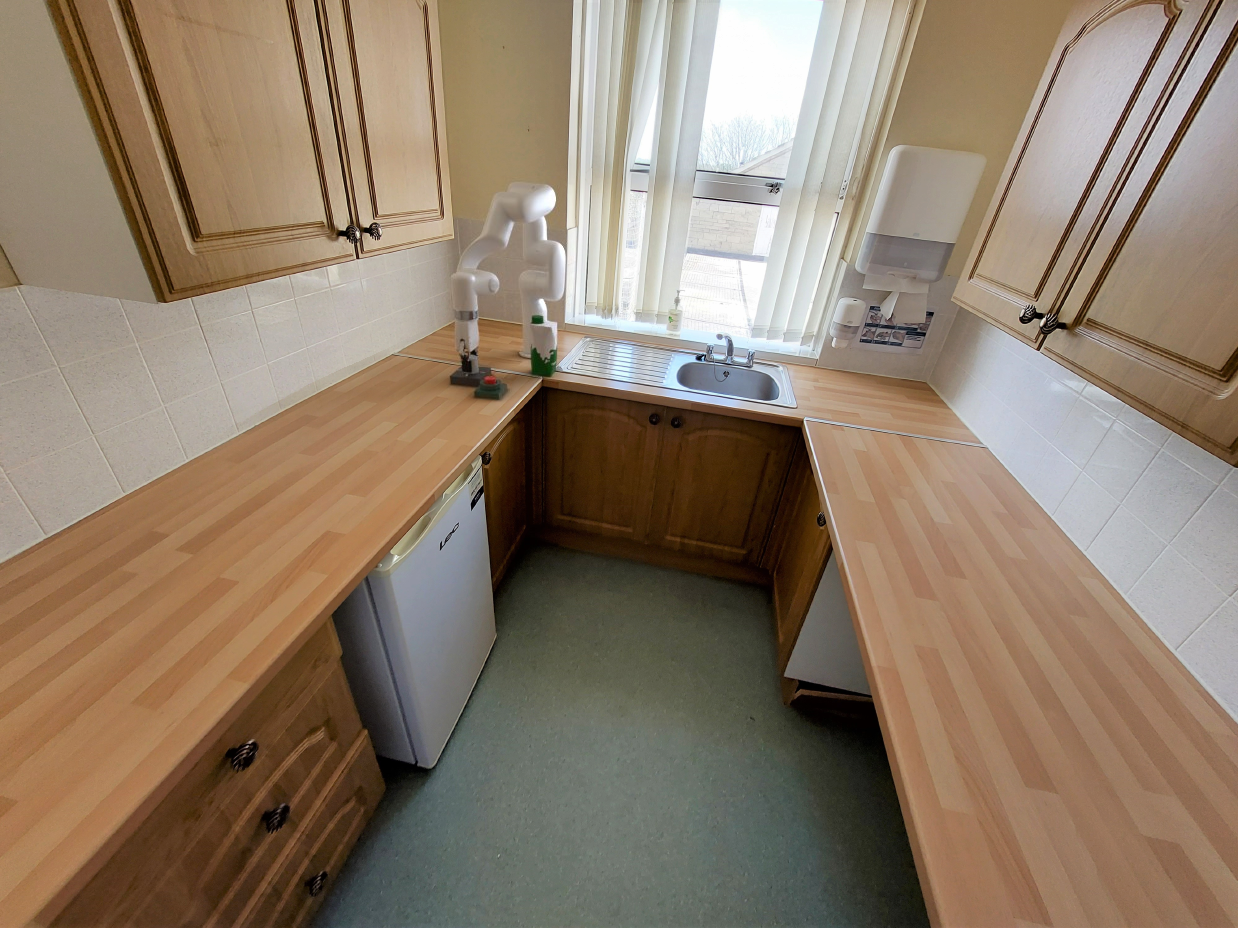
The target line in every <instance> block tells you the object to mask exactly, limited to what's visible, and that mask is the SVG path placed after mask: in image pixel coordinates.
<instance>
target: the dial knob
mask: <svg viewBox="0 0 1238 928" xmlns="http://www.w3.org/2000/svg"><path fill="white" fill-rule="evenodd" d="M466 355H467V356H468V354H466ZM476 355H477V354H476ZM476 355H470V361H471V362H472V372H471V373H469V372H464V373H466V374H475V373H478V372H479V366H480V365H479V366H478V362H479V355H478V356H476Z"/></svg>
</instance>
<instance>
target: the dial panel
mask: <svg viewBox="0 0 1238 928" xmlns="http://www.w3.org/2000/svg"><path fill="white" fill-rule="evenodd" d="M487 376H492V367H491V366H482V365H481V366H480V365H479V372H478V373H475V374H466V373H464V372H463V371H462V365H461V366H459V368H457V369H456V370H455V371H453V372H452V373H451V374H450V375H449V383H450V385H452V386H461V387H472V388H477V387H478V386H479V385H480V381H481V380H483V379H484V378H485V377H487Z"/></svg>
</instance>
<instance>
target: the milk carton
mask: <svg viewBox="0 0 1238 928" xmlns="http://www.w3.org/2000/svg"><path fill="white" fill-rule="evenodd" d="M529 327H530V344H531V358H530V366H531V367H530V370H531V371H530V372H531V373H530V374H531V375H532V376H533V375H534V376H540V377H550V378H551V377H552V376H553V375H554V373H555V372H556V371H557V364H558V322H557V321H551V320H547V321H544V319H543V316H540V315H533V316H532V322H531V323H530V325H529Z"/></svg>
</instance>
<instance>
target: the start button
mask: <svg viewBox="0 0 1238 928" xmlns="http://www.w3.org/2000/svg"><path fill="white" fill-rule="evenodd" d="M484 379H485V384H496V379H497V376H493V375H491V376H487V377H485V378H484Z"/></svg>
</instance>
